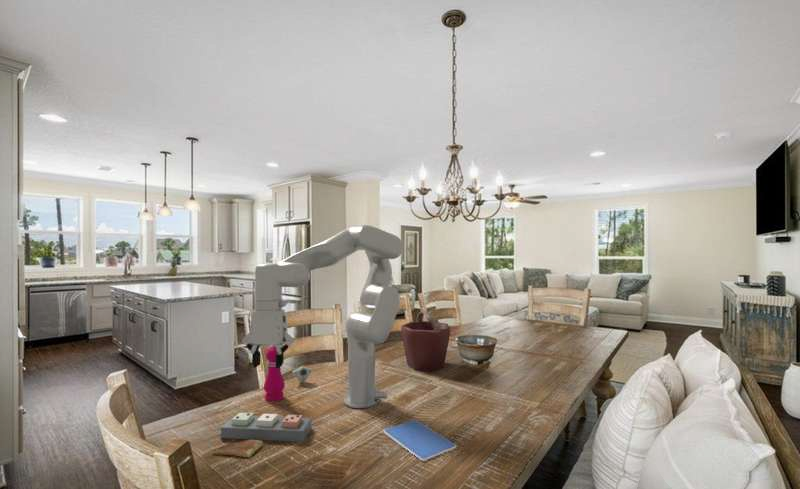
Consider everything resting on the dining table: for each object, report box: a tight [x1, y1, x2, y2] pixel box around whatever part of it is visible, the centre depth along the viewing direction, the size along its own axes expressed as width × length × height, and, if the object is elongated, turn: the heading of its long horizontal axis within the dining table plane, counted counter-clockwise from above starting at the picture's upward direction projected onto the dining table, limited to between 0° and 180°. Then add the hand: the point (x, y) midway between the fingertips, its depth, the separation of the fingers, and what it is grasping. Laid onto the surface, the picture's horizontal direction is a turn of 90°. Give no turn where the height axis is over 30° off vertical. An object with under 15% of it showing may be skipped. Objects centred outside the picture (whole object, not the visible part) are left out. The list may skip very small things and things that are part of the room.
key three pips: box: [282, 414, 303, 428], centre depth 110 cm, size 4×4×2 cm
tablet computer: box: [382, 419, 458, 461], centre depth 107 cm, size 19×13×1 cm, turn 35°
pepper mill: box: [263, 345, 286, 402], centre depth 136 cm, size 7×7×20 cm
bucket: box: [400, 310, 451, 373], centre depth 175 cm, size 24×22×25 cm
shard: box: [211, 439, 263, 458], centre depth 102 cm, size 11×8×2 cm
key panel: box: [220, 414, 313, 443], centre depth 111 cm, size 24×8×3 cm, turn 86°
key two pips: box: [232, 412, 255, 426], centre depth 111 cm, size 4×4×2 cm
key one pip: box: [257, 413, 279, 427], centre depth 111 cm, size 4×4×2 cm
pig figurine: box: [291, 365, 312, 384], centre depth 152 cm, size 8×4×7 cm, turn 117°
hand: (267, 366), depth 111 cm, fingers open, 6 cm apart
